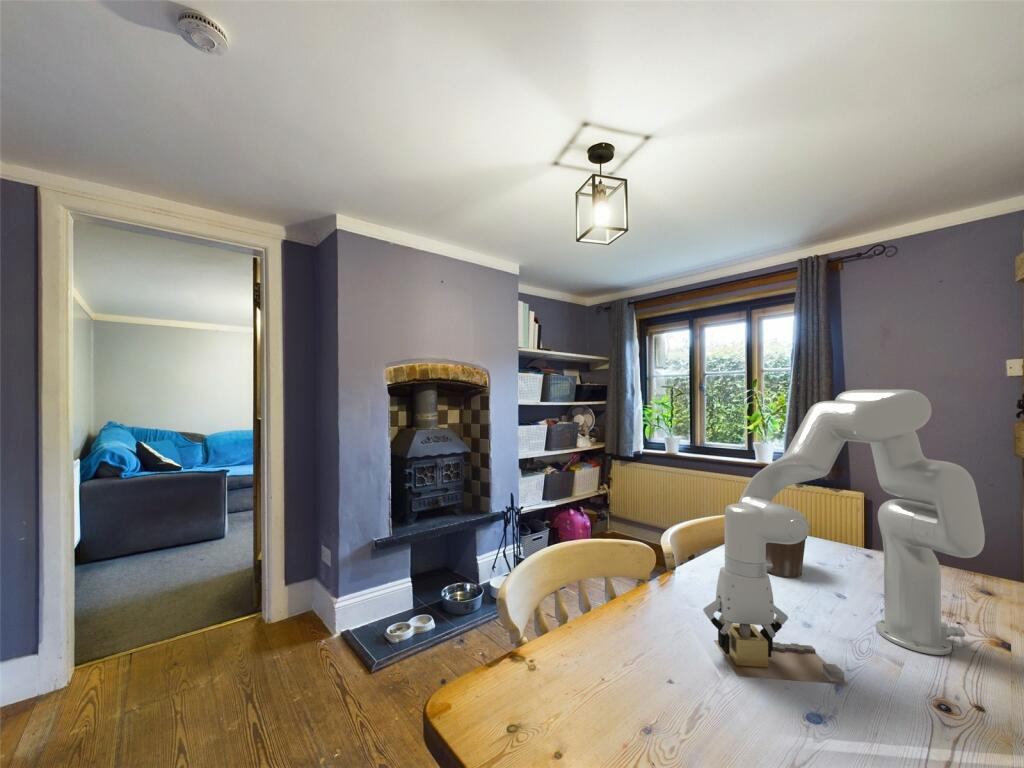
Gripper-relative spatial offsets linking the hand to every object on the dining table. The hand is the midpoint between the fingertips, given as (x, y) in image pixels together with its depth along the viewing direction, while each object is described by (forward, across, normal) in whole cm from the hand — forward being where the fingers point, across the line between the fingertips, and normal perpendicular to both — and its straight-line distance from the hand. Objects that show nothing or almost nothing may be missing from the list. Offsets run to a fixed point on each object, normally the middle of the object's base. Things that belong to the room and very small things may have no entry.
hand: (745, 651), depth 87 cm
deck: (+3, -6, 0) cm, 7 cm away
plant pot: (+3, -33, -51) cm, 61 cm away
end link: (+1, 0, 0) cm, 1 cm away
